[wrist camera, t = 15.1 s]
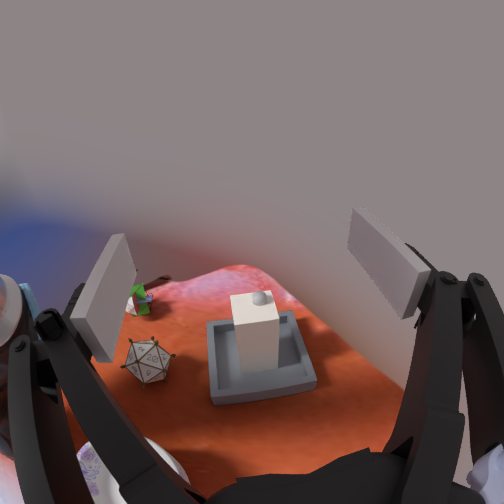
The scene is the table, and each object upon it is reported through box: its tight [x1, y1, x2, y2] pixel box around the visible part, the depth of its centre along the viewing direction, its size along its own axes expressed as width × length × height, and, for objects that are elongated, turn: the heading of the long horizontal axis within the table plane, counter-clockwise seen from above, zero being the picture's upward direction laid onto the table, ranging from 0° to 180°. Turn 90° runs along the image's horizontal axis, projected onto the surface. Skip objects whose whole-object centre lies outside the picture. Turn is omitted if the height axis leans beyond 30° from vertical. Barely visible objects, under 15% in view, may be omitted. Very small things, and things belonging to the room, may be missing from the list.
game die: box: [120, 336, 176, 389], centre depth 40 cm, size 9×8×10 cm
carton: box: [230, 290, 279, 374], centre depth 41 cm, size 6×6×13 cm
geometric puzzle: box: [125, 284, 153, 316], centre depth 54 cm, size 7×7×8 cm
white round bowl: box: [77, 437, 191, 504], centre depth 21 cm, size 15×15×8 cm
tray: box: [207, 310, 318, 406], centre depth 44 cm, size 16×16×3 cm
